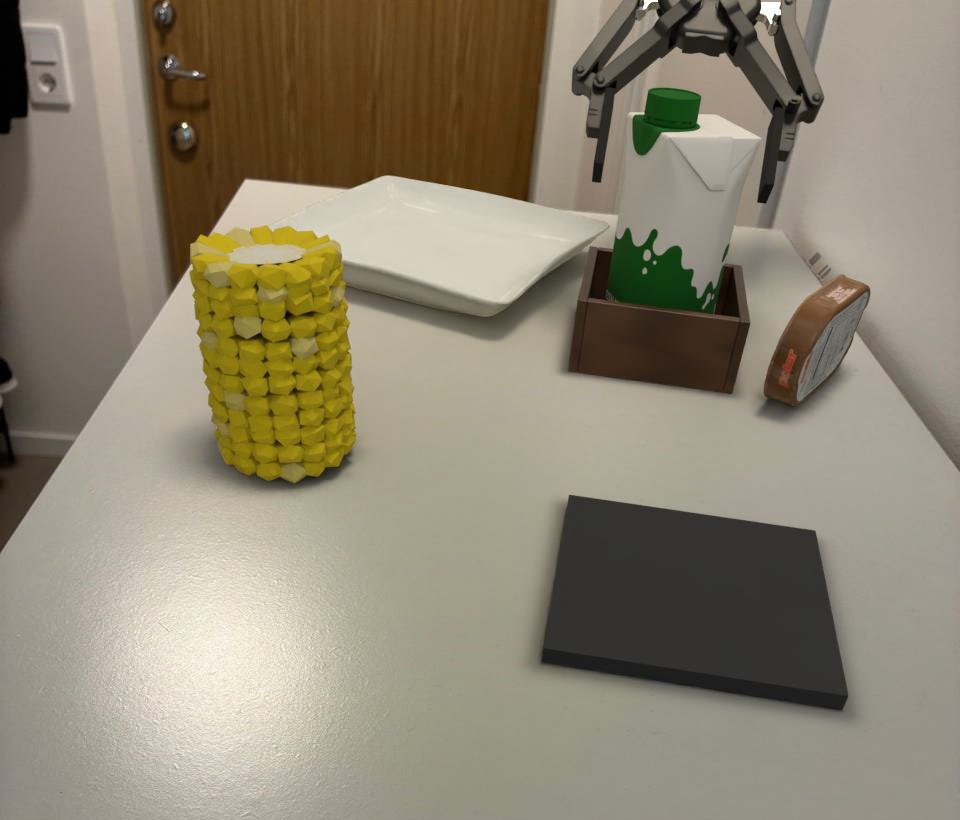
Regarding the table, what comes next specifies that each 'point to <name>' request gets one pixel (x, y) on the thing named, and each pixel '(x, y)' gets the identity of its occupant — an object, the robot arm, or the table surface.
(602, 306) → the crate
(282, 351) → the food
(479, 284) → the square plate
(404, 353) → the table surface
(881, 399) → the table surface
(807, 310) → the tin
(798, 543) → the mat
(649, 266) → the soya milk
